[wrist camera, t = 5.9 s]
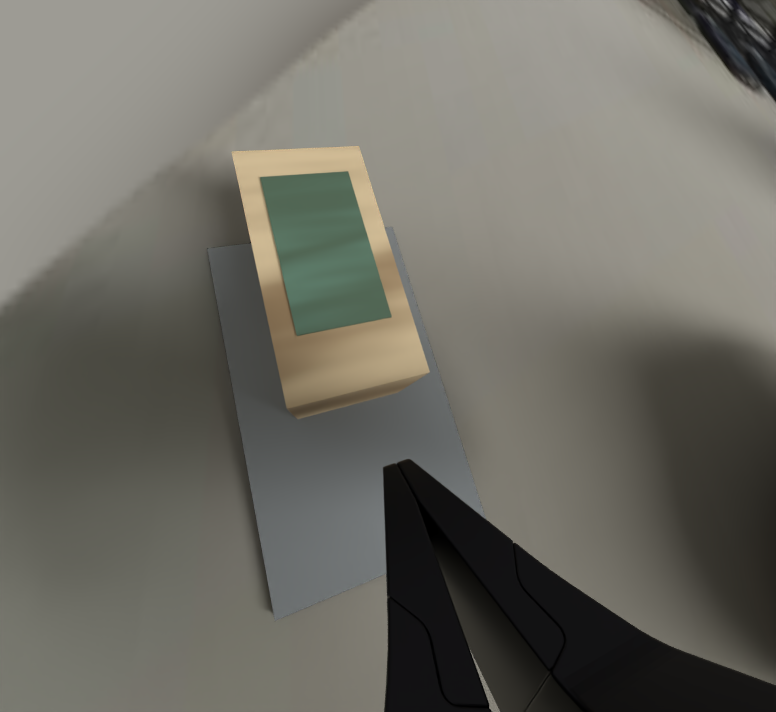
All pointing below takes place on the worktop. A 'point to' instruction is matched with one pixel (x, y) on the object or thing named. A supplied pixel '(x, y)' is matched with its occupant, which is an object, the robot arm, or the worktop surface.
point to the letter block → (327, 278)
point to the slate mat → (325, 450)
